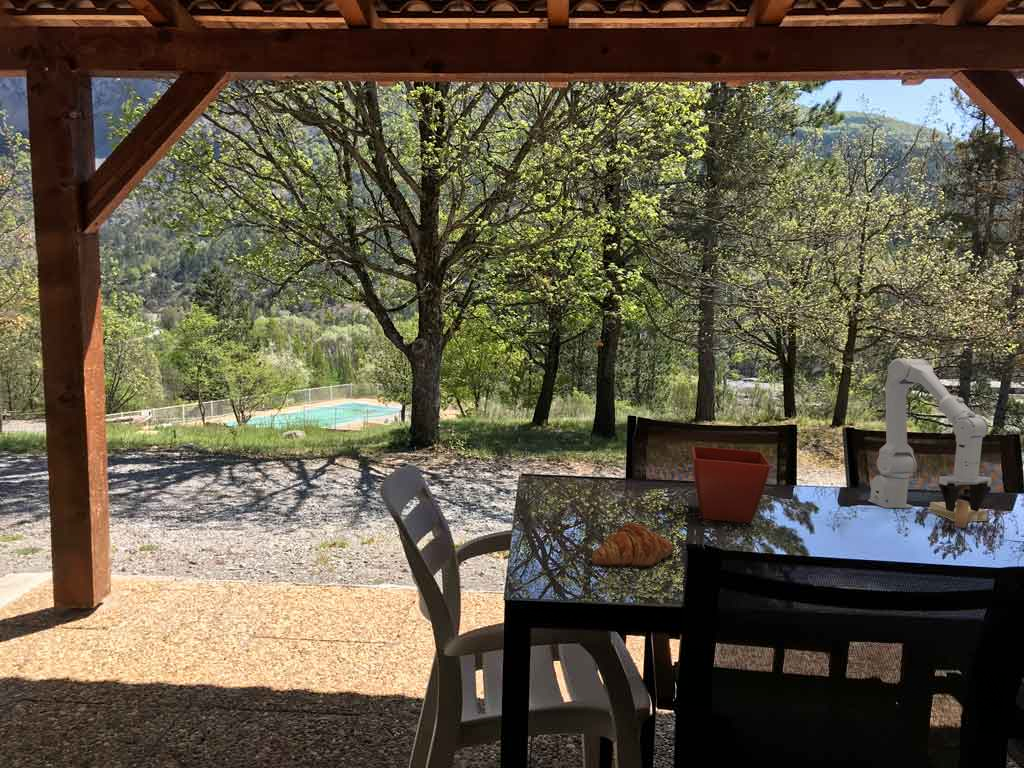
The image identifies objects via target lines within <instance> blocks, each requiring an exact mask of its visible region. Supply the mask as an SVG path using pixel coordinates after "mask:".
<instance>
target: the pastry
mask: <svg viewBox="0 0 1024 768" xmlns="http://www.w3.org/2000/svg"><path fill="white" fill-rule="evenodd" d="M674 552H675V548H674V545H673V544H672V542H670V540H668V539H667V538H663V537H661V535H659V534H657V533H656V532H654V531H651V530H649V529H648V528H646V527H645V526H644V525H641V524H639V523H633V522H628V523H626V524H624V525H621V526H620V527H619V528H618V530H617V532H616V533H610V534H608V535H607V536H606V538H605V540H604V541H603V542H602V543H601V545H600V546H599V547H596V548H595V549H594V550H593V552H592V556H591V560H590V562H591V564H592V565H594V566H599V567H619V568H620V567H636V568H651V567H653V566H655V565H658V564H659V563H661V561H662V560H667V558H669V557H671V556H672V555H673V554H674Z"/></svg>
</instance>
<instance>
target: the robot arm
mask: <svg viewBox="0 0 1024 768" xmlns="http://www.w3.org/2000/svg"><path fill="white" fill-rule="evenodd" d="M916 384H920V385H921V386H922V387H923V388H925V390H927V392H928V393H929V394H930V395H931V396H932V397H933V398H935V400H936V401H938V404H939V405H938V409H939V410H940V412H941V413H942V414H943V415H944V416H945V418H946V419H947V420H948V421H949V422H950V423H951V424H952V425H953V426H952V430H953V435H955V442H956V446H955V447H956V448H955V455H954V457H955V459H954V469H953V474H952V475H945V476H941V475H940V476H938V477H939V480H938V487H939V489H940V491H941V494H942V496H943V500H944V502H945V505H946V510H948V511H951V512H954V510H955V504H956V502H957V500H958V499H957V498H958V496H959V494H960V493H959V491H960V488H958V487H956V486H957V484H969V488H970V493H969V496H970V495H971V498H970V501H969V505H970V509H971V510H973V511H979V508H980V509H981V505H982V504H983V501H984V500H985V498H986V497H987V495H988V494H989V493H990V492H991V491H992V487H991V485H992V477H989V476H979V473H980V463H981V453H982V444H983V438H984V437H986V436H987V434H988V433H989V424H988V422H987V420H986V419H985V418H984V417H982V416H978V415H976V413H975V412H974V411H973V410H971V409H970V408H969V407H968V406H967V405H966V403H965V400H964V398H963V397H959V396H957V395H951V393H950V392H949V391H948V389H947V388H946V387H945V385H944V384H943V383H942V382H941V381H940V378H938V377H937V375H936V374H935V373H934V367H933V366H932V365H931V364H929V362H928V361H927V360H926V359H924V358H901V357H899V358H895V359H893V360H892V361H891V362H890V363H889V364H888V365H887V377H886V381H885V385H884V386H885V389H884V391H885V428H886V429H885V430H886V431H885V437H886V438H885V439H886V443H885V444H884V445H883V446H882V447H880V448H879V451H878V458H877V459H876V466H877V469H878V471H879V474H880V475H875V476H874V477H873V478H872V480H871V485H870V497H869V499H868V500H867V501H868V502H870V503H872V504H874V505H877V506H879V507H883V508H884V509H895V508H896V509H897V508H898V509H905V508H907V509H911V508H914V506H913V505H912V504H909V503H907V500H908V499H907V498H908V490H909V480H910V477H911V475H912V474H913V473H914V472H915V471H916V468H917V460H916V458H915V455H914V448H913V447H912V446H910V445H909V443H908V432H907V431H908V429H907V428H908V427H907V426H908V425H907V424H908V423H907V421H908V420H907V419H908V418H907V415H908V414H907V391H908V390H909V389H910V388H911V387H912V386H913V385H916Z"/></svg>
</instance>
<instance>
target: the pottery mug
mask: <svg viewBox="0 0 1024 768" xmlns="http://www.w3.org/2000/svg"><path fill="white" fill-rule="evenodd" d="M955 486H956V487H958V488H960V491H959V493H958V494H960V495H966V496H968V494H969V497H970V499H971V495H970V488H969V484H956V485H955Z"/></svg>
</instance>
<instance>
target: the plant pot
mask: <svg viewBox="0 0 1024 768" xmlns="http://www.w3.org/2000/svg"><path fill="white" fill-rule="evenodd" d="M691 456H692V469H693V478H694V485H695V491H696V498H697V504H698V509H699V513H700V517H701V518H702V519H705V520H715V521H722V522H723V521H724V522H734V523H742V522H745V524H750V522H751V523H752V521H753V519H754V516H755V515H756V512H757V510H758V507H759V505H760V503H761V501H762V497H763V494H764V491H765V488H766V484H767V481H768V478H769V474H770V469H771V463H770V462H769V461H768V459H767V458H766V457H765V455H764V453H763V452H761V451H759V450H758V451H757V450H746V449H737V448H736V449H734V448H733V449H732V448H723V447H722V448H721V447H712V446H711V447H708V446H699V445H697V446H696V445H694V446H692V447H691Z"/></svg>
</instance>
